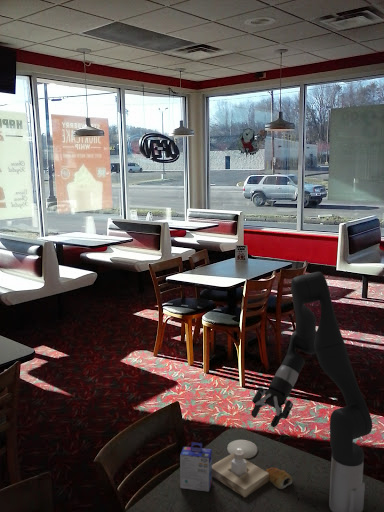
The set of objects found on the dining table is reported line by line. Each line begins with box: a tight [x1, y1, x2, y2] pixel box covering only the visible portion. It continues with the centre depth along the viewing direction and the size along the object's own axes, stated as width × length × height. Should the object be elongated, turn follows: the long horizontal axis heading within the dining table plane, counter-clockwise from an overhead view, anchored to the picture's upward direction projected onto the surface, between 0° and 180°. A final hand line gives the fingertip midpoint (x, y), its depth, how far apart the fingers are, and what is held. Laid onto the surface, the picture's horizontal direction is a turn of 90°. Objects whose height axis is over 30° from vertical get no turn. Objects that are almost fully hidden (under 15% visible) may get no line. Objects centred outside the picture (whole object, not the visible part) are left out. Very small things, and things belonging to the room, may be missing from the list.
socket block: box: [212, 453, 270, 498], centre depth 167 cm, size 16×12×3 cm
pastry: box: [265, 467, 293, 490], centre depth 166 cm, size 9×7×4 cm
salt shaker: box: [231, 450, 247, 477], centre depth 166 cm, size 4×4×10 cm
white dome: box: [226, 439, 258, 460], centre depth 183 cm, size 11×11×1 cm
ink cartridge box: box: [179, 441, 213, 492], centre depth 162 cm, size 10×6×14 cm, turn 78°
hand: (262, 421), depth 172 cm, fingers open, 8 cm apart
